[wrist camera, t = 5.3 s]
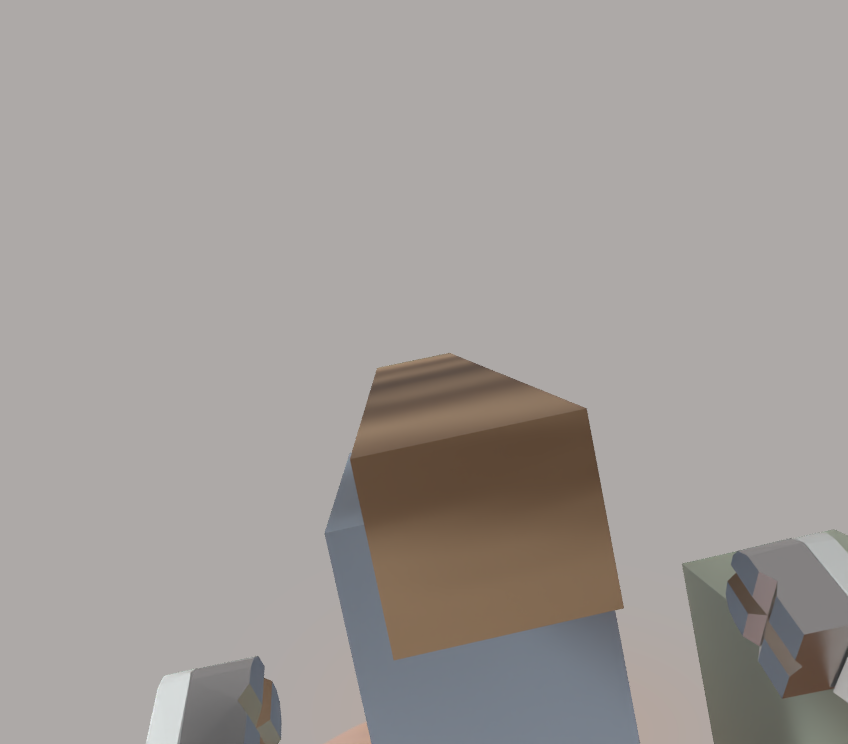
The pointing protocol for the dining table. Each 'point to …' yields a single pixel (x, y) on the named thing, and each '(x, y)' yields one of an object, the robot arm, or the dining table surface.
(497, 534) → the walnut bar
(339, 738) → the dining table surface
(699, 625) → the pale green tall block
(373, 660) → the tower
